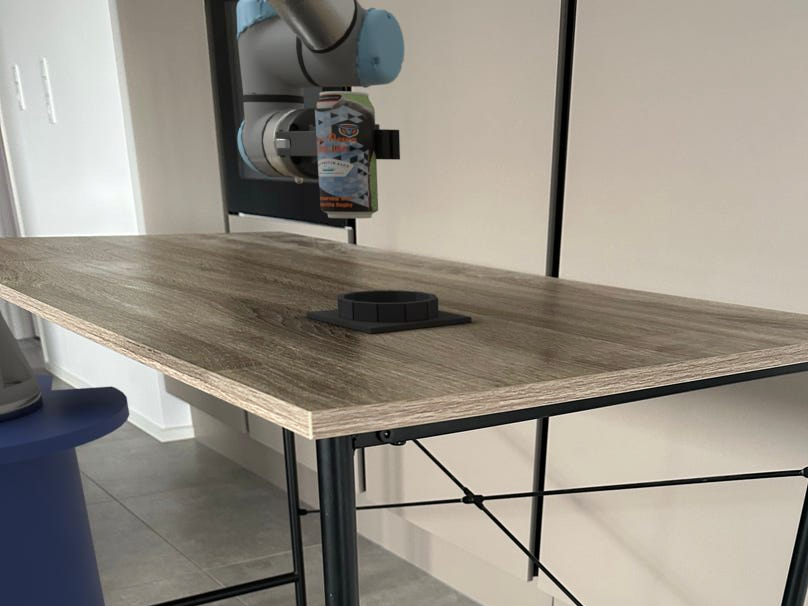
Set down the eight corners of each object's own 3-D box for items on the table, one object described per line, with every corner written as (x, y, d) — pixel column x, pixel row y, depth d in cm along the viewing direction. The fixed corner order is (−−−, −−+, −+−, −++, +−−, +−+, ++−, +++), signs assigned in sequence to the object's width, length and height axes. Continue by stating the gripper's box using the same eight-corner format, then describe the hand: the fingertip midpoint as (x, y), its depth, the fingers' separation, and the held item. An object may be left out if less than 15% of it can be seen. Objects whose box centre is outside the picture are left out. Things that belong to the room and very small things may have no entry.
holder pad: (371, 333, 102) (370, 308, 101) (306, 317, 112) (304, 294, 111) (471, 322, 110) (471, 298, 109) (403, 307, 120) (402, 286, 118)
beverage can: (312, 226, 100) (287, 97, 94) (366, 213, 104) (345, 89, 98) (348, 226, 96) (324, 91, 90) (402, 213, 100) (382, 83, 94)
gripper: (357, 178, 118) (449, 185, 100) (254, 179, 112) (332, 186, 94) (354, 110, 115) (448, 104, 97) (247, 107, 109) (327, 99, 91)
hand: (391, 144), depth 96 cm, fingers closed on beverage can
